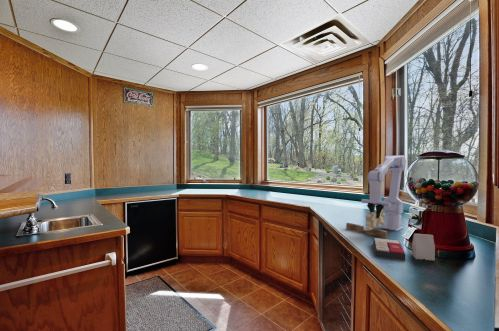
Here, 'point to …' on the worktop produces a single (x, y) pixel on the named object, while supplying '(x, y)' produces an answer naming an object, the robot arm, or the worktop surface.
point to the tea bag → (423, 247)
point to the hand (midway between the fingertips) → (375, 217)
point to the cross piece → (374, 220)
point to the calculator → (388, 249)
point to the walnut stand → (361, 229)
